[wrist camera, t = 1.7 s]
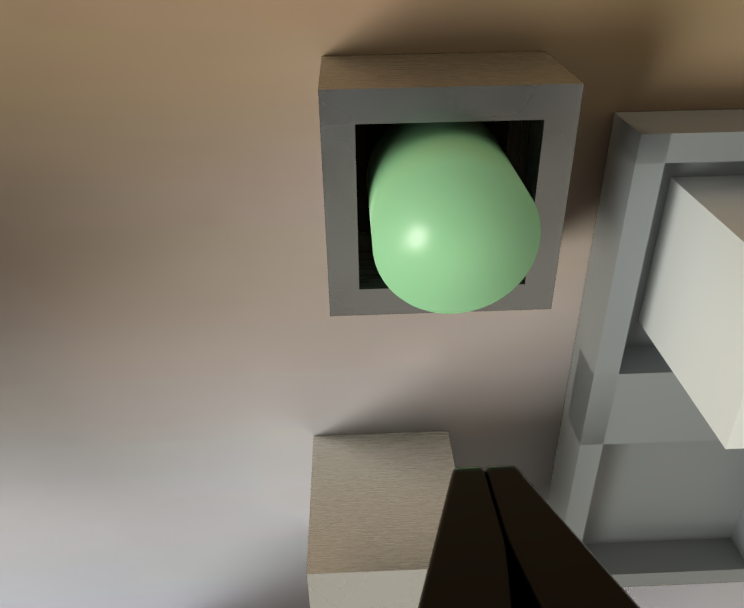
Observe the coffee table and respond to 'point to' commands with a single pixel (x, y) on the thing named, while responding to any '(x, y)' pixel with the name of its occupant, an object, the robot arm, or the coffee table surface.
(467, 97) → the switch box
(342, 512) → the block
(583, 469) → the pallet
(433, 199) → the button
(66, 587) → the coffee table surface
